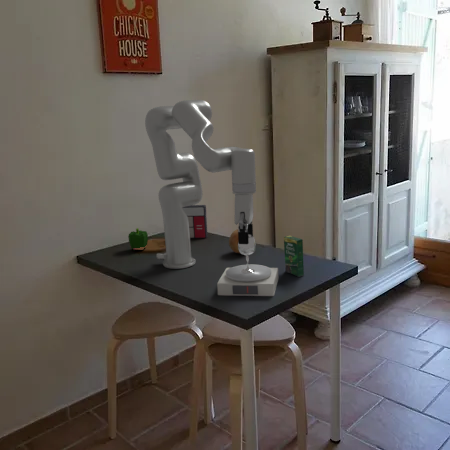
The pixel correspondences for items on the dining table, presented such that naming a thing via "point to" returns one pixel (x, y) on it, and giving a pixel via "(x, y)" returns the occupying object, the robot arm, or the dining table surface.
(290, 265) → the coffee box
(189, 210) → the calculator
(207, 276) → the dining table surface
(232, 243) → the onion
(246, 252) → the wineglass
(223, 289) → the kitchen scale
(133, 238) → the bell pepper
